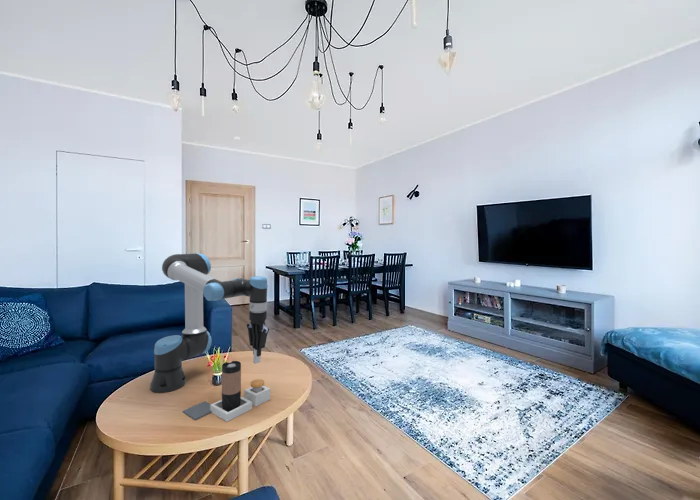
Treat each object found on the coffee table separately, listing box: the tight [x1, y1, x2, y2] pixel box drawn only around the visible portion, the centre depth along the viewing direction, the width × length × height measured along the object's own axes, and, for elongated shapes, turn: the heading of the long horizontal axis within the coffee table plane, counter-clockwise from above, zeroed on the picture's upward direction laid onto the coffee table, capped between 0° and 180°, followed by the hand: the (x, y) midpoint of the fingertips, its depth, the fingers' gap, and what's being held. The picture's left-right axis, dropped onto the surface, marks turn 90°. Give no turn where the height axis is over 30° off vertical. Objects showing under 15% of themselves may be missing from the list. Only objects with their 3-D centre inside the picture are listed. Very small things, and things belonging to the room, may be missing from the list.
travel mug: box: [221, 360, 242, 412], centre depth 132 cm, size 8×8×20 cm
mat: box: [182, 400, 212, 421], centre depth 132 cm, size 10×10×1 cm
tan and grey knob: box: [249, 378, 265, 393], centre depth 141 cm, size 6×6×8 cm
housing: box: [243, 385, 271, 407], centre depth 141 cm, size 8×8×5 cm
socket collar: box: [210, 396, 253, 423], centre depth 133 cm, size 12×12×3 cm
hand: (256, 362), depth 141 cm, fingers closed
